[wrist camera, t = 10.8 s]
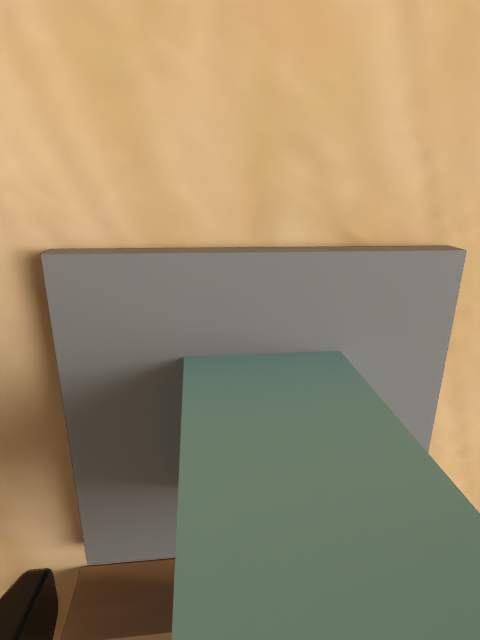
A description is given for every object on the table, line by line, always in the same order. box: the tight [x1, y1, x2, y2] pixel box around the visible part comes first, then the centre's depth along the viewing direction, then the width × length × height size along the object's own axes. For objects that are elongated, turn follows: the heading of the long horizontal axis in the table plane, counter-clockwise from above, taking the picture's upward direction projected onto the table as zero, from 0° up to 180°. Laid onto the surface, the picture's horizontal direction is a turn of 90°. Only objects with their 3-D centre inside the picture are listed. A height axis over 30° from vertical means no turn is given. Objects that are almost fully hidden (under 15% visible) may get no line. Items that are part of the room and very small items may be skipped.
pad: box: [41, 246, 467, 565], centre depth 12 cm, size 10×11×1 cm
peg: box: [172, 351, 480, 640], centre depth 7 cm, size 4×4×10 cm
